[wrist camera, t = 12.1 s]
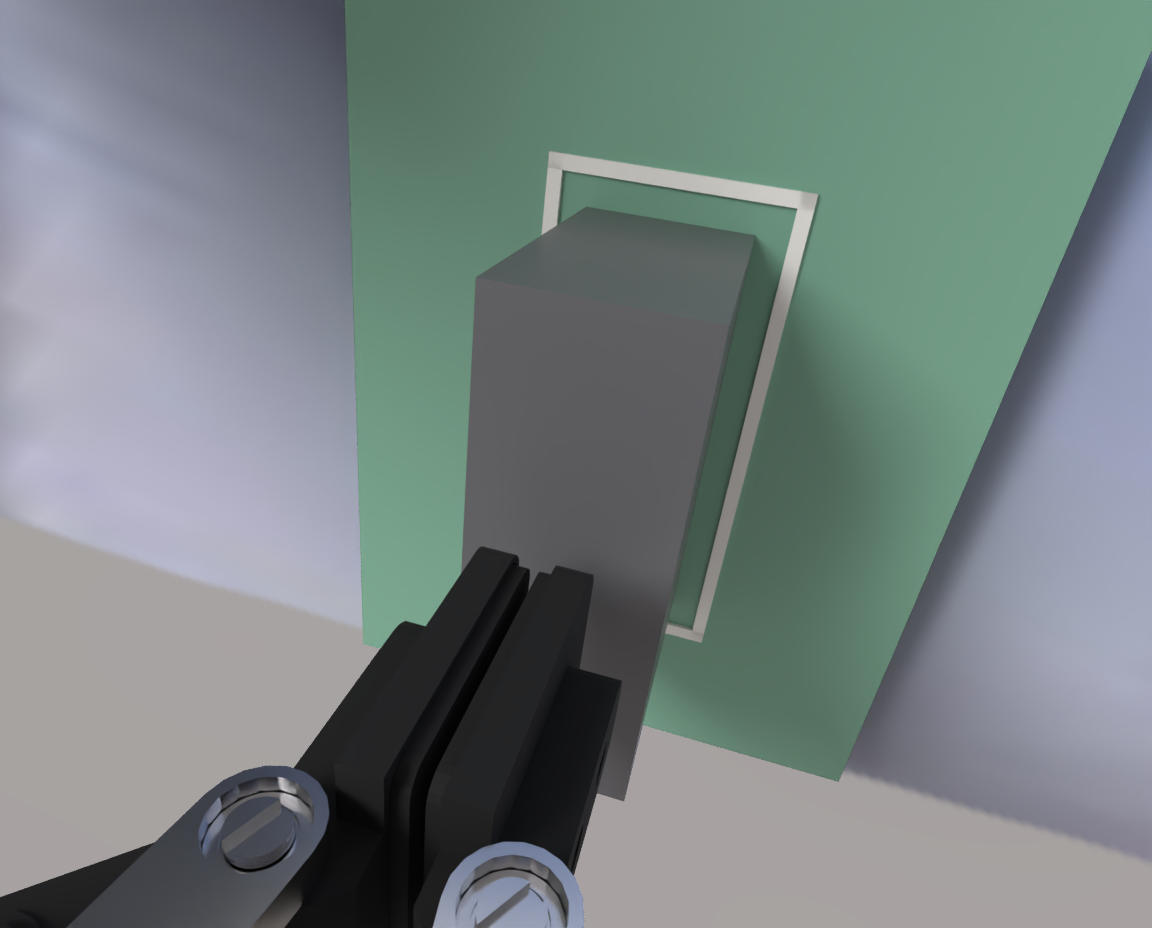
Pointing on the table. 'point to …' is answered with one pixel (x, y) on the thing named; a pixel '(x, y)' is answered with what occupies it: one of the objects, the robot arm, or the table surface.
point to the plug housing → (601, 423)
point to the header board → (770, 295)
